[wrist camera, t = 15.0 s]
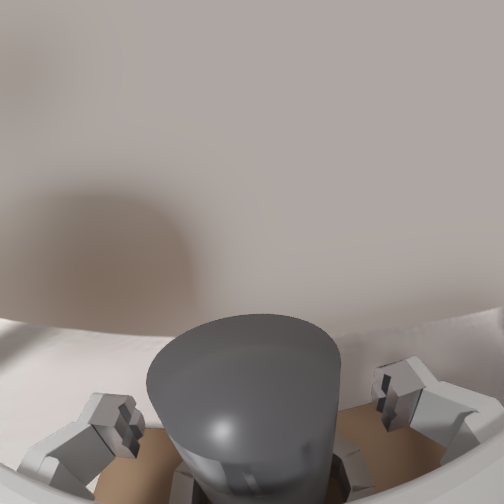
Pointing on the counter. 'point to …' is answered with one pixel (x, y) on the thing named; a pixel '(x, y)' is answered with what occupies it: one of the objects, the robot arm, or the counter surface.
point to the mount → (341, 474)
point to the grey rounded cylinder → (251, 407)
